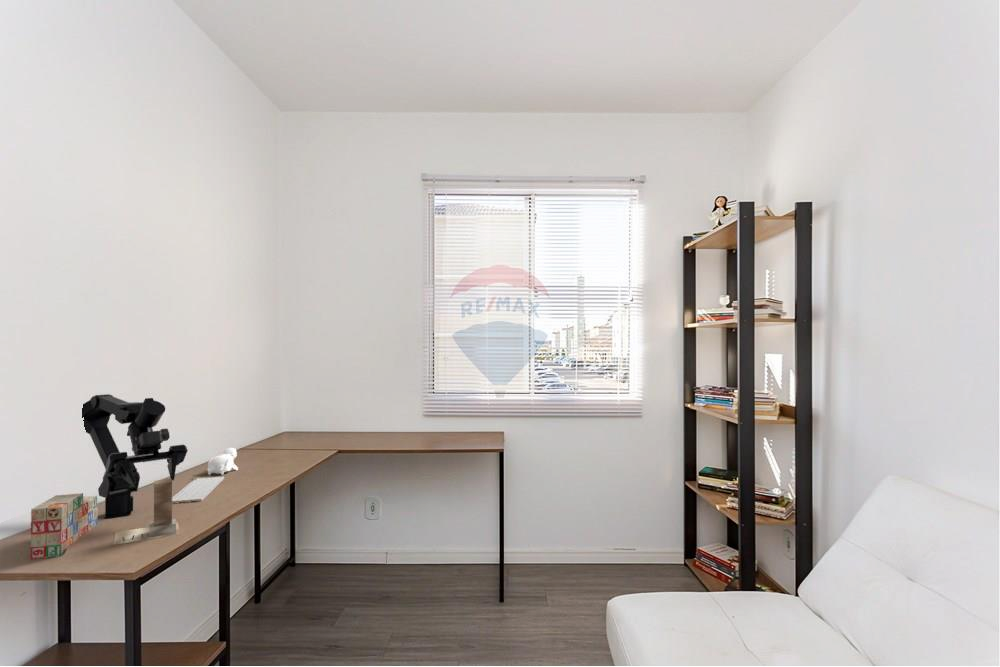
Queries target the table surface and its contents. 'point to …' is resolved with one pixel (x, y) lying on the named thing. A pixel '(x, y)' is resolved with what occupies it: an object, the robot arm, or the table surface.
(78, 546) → the table surface
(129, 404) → the robot arm
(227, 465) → the white lumpy figurine
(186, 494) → the baseboard molding
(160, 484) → the block
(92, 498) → the stack of blocks
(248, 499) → the table surface
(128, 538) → the board
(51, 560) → the table surface
